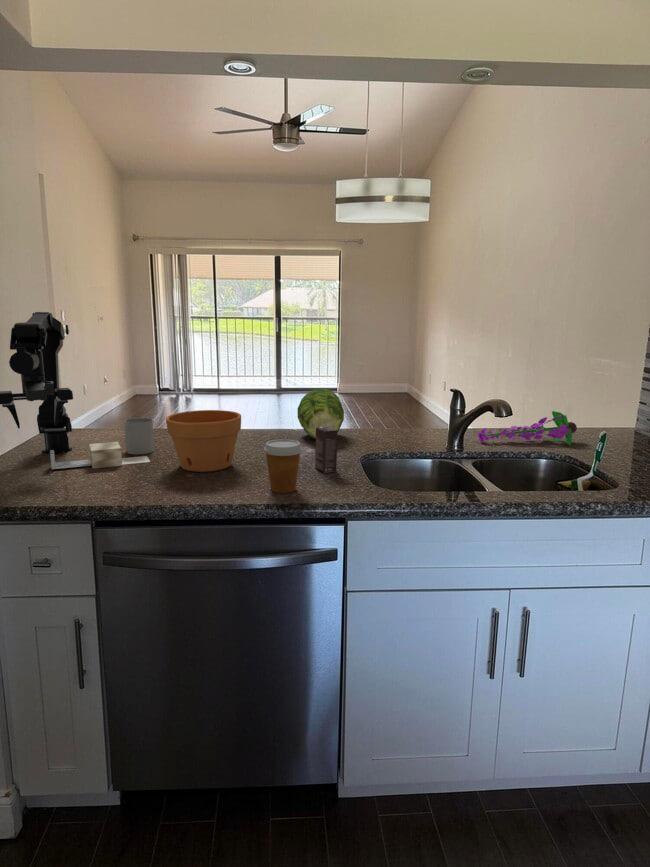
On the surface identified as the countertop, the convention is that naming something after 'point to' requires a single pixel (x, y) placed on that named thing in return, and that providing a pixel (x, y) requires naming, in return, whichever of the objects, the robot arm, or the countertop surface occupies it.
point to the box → (326, 449)
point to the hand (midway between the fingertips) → (37, 426)
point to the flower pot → (204, 438)
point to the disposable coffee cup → (283, 464)
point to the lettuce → (320, 411)
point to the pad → (135, 460)
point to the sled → (68, 464)
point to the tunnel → (105, 454)
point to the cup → (139, 435)
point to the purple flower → (537, 430)
